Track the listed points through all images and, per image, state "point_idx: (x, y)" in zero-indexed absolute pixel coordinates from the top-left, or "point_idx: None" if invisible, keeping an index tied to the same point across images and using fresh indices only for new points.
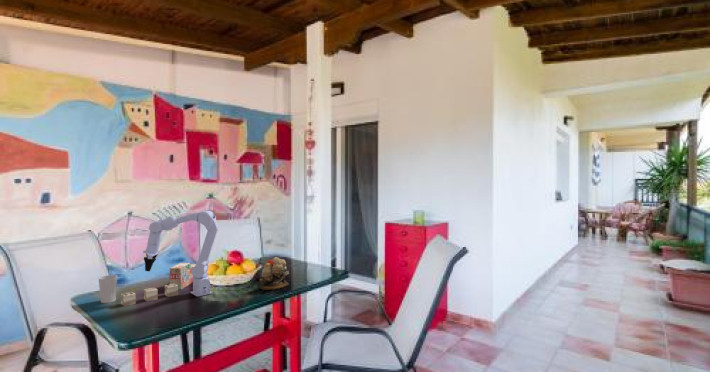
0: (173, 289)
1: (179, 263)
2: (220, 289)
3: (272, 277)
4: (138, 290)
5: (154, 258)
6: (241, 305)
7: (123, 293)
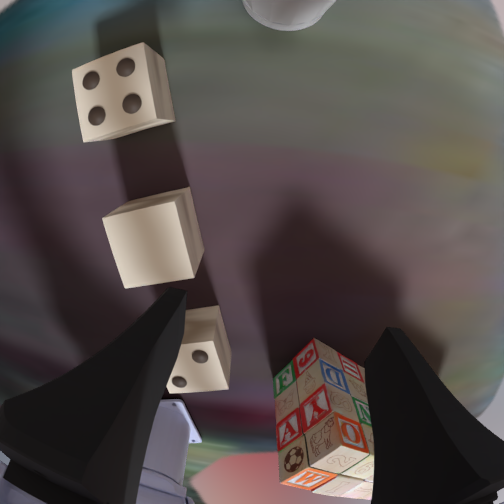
0: None
1: None
2: None
3: None
4: (419, 179)
5: (377, 479)
6: None
7: (143, 56)
